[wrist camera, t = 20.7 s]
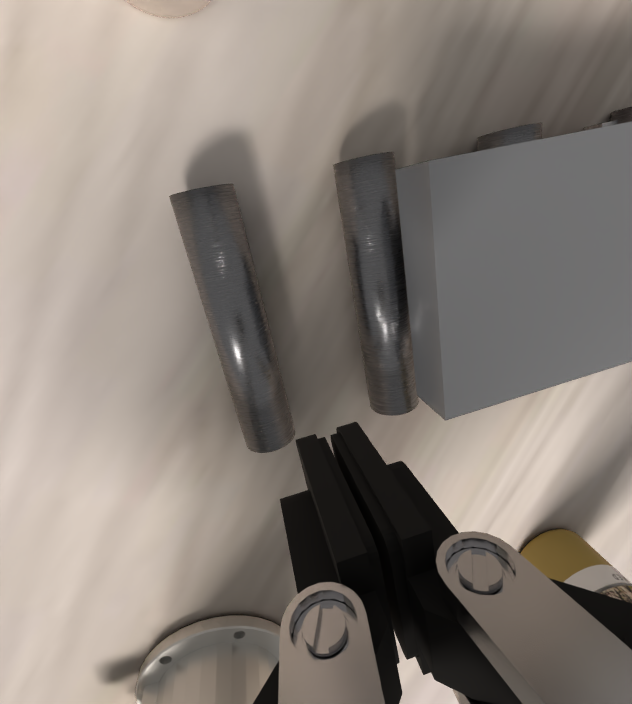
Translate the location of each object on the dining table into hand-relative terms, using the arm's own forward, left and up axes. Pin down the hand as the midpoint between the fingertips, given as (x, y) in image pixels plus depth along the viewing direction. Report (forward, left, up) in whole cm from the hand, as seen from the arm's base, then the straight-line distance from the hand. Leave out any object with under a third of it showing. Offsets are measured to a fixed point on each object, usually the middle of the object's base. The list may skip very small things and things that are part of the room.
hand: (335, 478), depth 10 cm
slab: (+19, +1, -11) cm, 22 cm away
